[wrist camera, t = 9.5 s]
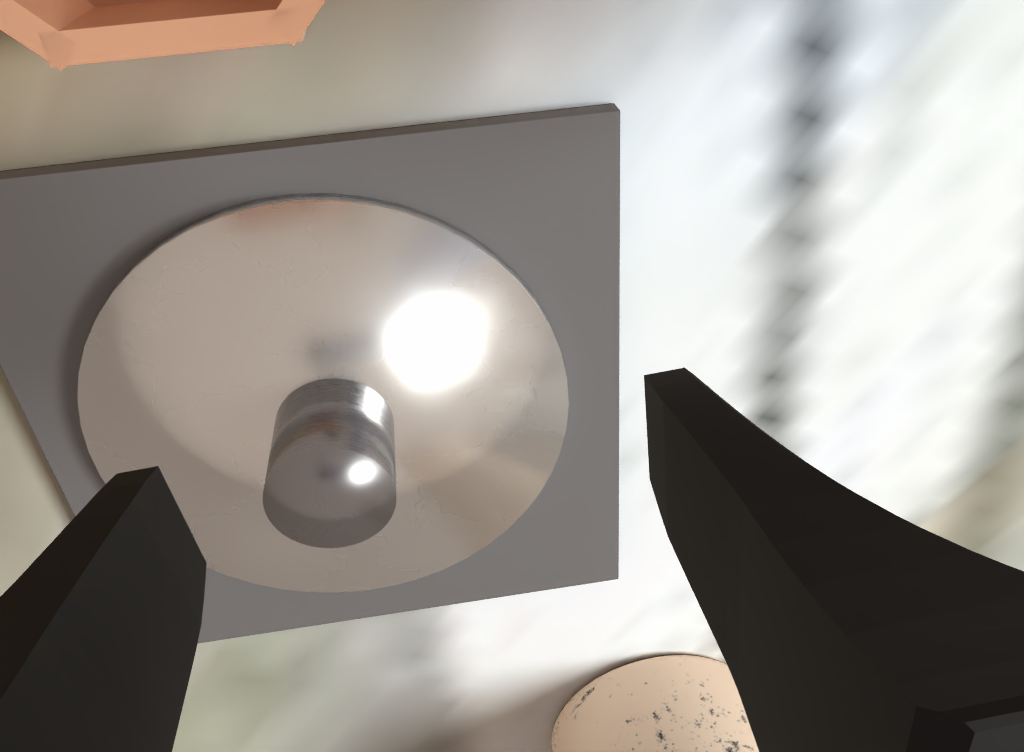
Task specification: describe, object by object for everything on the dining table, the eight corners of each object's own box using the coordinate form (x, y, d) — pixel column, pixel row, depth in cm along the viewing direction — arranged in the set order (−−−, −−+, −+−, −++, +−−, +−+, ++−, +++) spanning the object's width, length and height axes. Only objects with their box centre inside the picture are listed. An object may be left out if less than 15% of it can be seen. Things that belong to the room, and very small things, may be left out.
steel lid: (486, 118, 19) (506, 171, 16) (608, 504, 27) (637, 590, 24) (-27, 293, 20) (-97, 376, 17) (229, 624, 27) (211, 722, 24)
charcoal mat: (614, 103, 20) (620, 110, 20) (614, 566, 29) (618, 578, 29) (-75, 179, 19) (-87, 189, 19) (146, 637, 28) (141, 652, 27)
